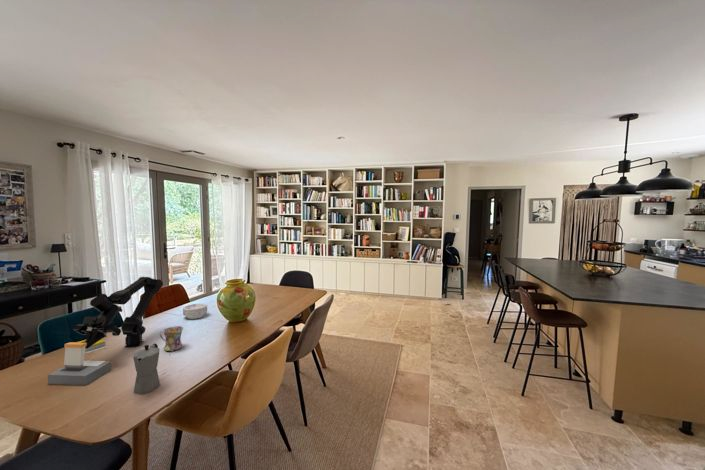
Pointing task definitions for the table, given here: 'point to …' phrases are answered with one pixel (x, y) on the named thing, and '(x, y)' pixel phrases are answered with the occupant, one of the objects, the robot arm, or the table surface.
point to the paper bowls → (195, 311)
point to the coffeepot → (146, 369)
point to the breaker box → (79, 373)
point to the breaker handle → (74, 355)
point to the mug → (172, 338)
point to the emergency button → (94, 346)
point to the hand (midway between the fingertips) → (85, 348)
